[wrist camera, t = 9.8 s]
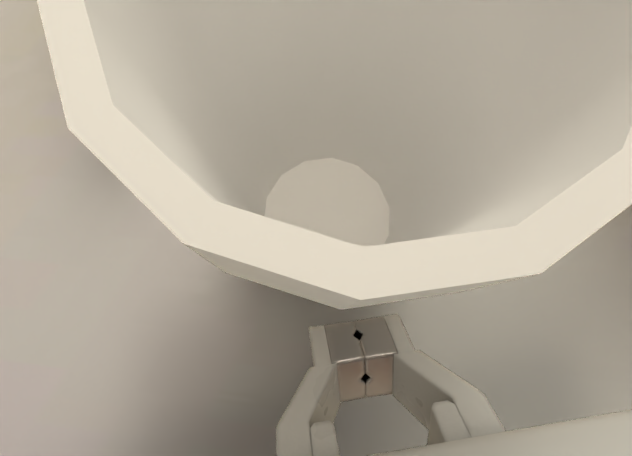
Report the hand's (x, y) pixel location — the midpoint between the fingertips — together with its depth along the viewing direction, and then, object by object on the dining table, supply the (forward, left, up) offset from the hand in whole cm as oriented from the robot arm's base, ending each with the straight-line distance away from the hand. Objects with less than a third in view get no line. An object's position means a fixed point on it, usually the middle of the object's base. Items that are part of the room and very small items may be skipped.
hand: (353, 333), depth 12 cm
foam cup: (0, +5, -5) cm, 7 cm away
